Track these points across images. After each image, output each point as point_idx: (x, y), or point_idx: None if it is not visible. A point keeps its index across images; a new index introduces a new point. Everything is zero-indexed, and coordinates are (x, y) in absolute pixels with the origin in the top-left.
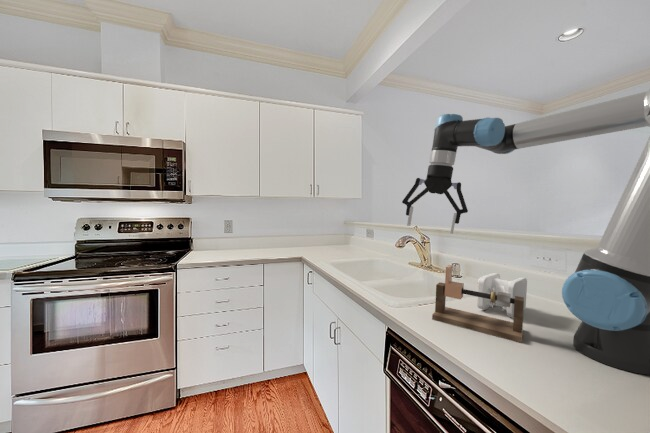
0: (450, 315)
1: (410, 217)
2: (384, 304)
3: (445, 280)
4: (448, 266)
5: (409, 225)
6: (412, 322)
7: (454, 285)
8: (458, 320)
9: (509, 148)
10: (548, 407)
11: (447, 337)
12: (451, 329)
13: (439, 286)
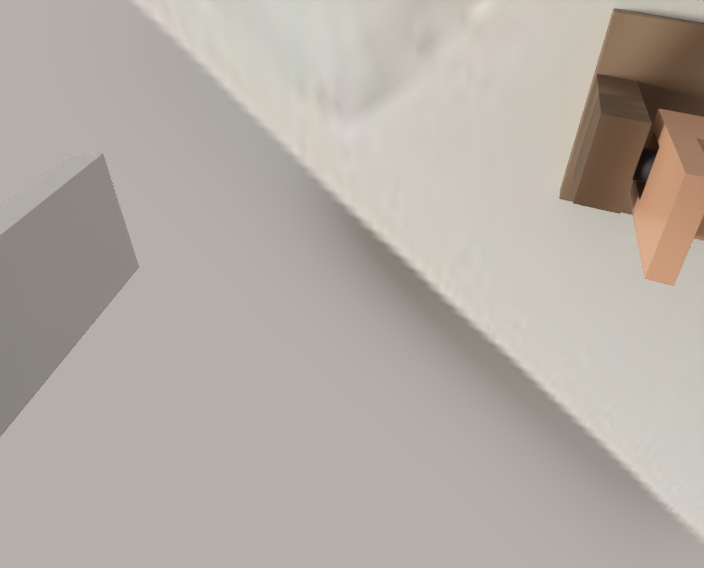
0: None
1: (70, 344)
2: (298, 96)
3: (637, 232)
4: (671, 245)
5: (133, 260)
6: (472, 266)
7: (700, 238)
8: None
9: None
10: None
11: (621, 349)
12: None
13: (595, 205)
